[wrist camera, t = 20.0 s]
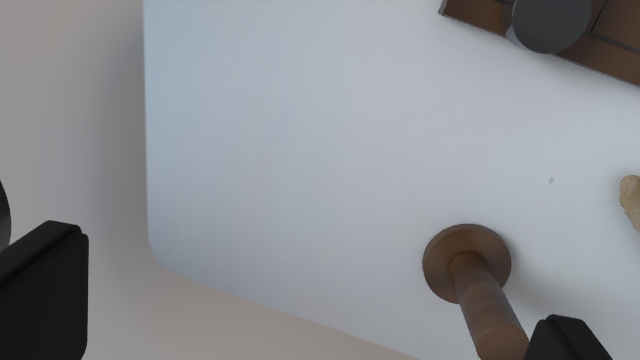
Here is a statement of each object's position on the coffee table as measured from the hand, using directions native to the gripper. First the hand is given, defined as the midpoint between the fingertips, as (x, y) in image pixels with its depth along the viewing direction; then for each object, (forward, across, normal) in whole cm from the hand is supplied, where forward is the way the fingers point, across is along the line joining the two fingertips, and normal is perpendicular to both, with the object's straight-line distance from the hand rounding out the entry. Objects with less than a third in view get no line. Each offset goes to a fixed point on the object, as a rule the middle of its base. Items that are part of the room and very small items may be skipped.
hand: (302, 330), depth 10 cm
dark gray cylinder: (+27, -12, -8) cm, 30 cm away
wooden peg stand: (+28, -13, +11) cm, 33 cm away
